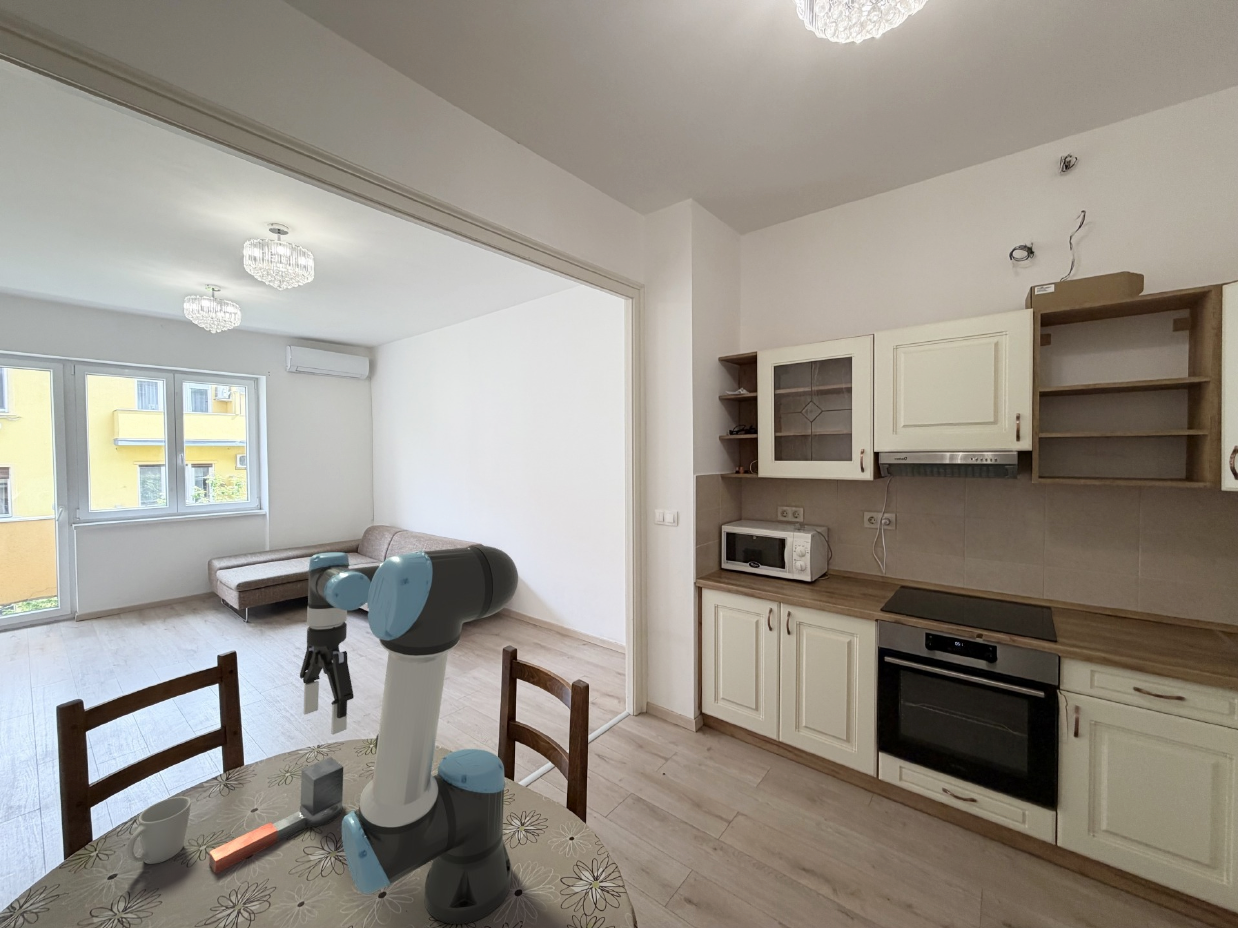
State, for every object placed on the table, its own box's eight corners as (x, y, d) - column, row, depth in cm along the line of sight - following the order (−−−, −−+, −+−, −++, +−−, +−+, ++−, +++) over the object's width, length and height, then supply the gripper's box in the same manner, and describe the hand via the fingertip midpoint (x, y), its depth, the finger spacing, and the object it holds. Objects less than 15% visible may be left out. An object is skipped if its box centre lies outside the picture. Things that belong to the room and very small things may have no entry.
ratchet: (332, 796, 114) (333, 763, 114) (348, 811, 109) (349, 777, 109) (205, 858, 95) (206, 819, 95) (219, 879, 90) (220, 838, 90)
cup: (199, 841, 99) (201, 798, 99) (145, 882, 89) (147, 834, 90) (167, 836, 100) (169, 794, 101) (110, 875, 91) (112, 829, 91)
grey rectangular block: (342, 800, 109) (343, 766, 109) (312, 815, 104) (313, 779, 104) (329, 789, 112) (330, 756, 112) (300, 803, 107) (301, 769, 107)
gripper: (373, 631, 104) (370, 732, 104) (320, 610, 119) (317, 698, 119) (335, 640, 98) (332, 748, 98) (285, 617, 113) (281, 710, 112)
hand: (324, 721), depth 108 cm, fingers open, 13 cm apart
